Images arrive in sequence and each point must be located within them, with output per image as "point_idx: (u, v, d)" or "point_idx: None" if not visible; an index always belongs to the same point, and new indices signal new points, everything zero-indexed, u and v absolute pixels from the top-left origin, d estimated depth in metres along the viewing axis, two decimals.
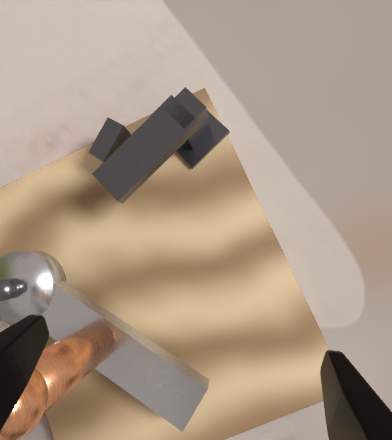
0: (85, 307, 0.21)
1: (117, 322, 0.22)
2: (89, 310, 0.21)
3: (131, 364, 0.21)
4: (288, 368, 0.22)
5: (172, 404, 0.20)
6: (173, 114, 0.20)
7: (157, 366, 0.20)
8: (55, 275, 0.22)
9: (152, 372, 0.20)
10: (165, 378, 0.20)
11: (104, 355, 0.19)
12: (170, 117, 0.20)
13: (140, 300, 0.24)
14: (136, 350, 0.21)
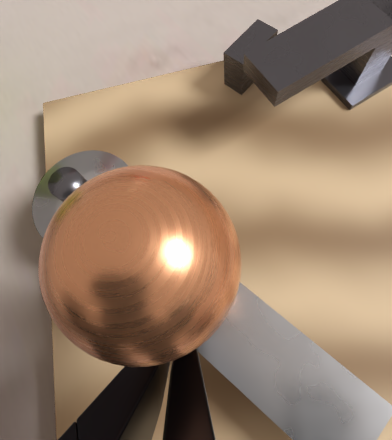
0: None
1: None
2: None
3: (253, 342, 0.12)
4: None
5: (326, 427, 0.11)
6: (375, 1, 0.14)
7: (300, 352, 0.12)
8: None
9: (290, 361, 0.12)
10: (314, 376, 0.11)
11: None
12: (371, 3, 0.14)
13: (248, 269, 0.16)
14: (264, 319, 0.12)
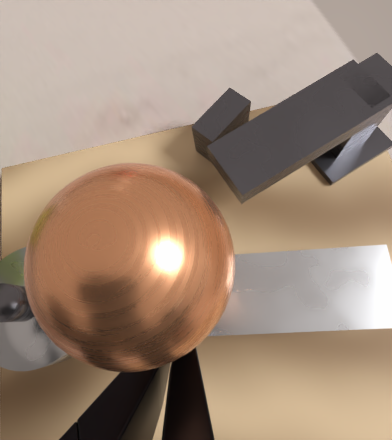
0: None
1: None
2: None
3: (264, 289, 0.12)
4: None
5: (360, 299, 0.12)
6: (353, 85, 0.13)
7: (300, 265, 0.13)
8: None
9: (299, 278, 0.12)
10: (322, 272, 0.12)
11: None
12: (349, 88, 0.13)
13: (215, 373, 0.14)
14: (256, 266, 0.13)
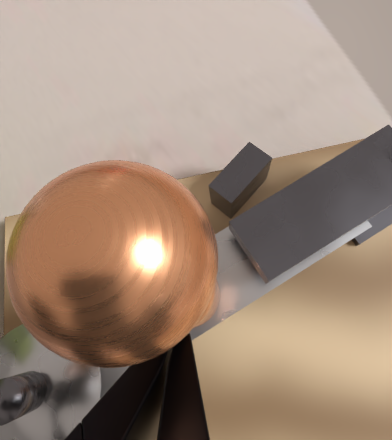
0: None
1: None
2: None
3: (246, 256, 0.13)
4: None
5: None
6: (390, 155, 0.12)
7: None
8: None
9: None
10: None
11: None
12: (384, 158, 0.12)
13: None
14: (229, 240, 0.13)
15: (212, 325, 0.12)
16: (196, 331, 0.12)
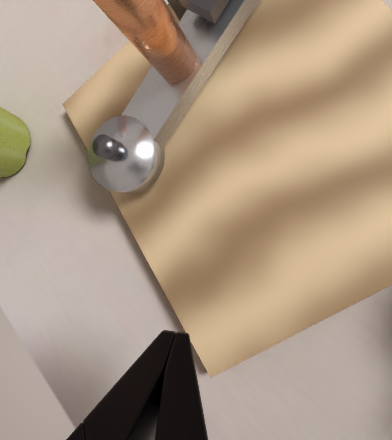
0: (145, 79, 0.21)
1: None
2: (148, 74, 0.20)
3: (202, 22, 0.19)
4: None
5: None
6: None
7: None
8: None
9: None
10: None
11: None
12: None
13: (247, 153, 0.21)
14: (189, 19, 0.20)
15: (197, 71, 0.19)
16: (189, 79, 0.19)
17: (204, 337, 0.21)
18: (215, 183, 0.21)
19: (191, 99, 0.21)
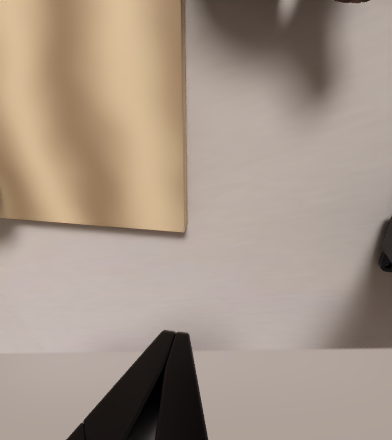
0: None
1: None
2: None
3: None
4: None
5: None
6: None
7: None
8: None
9: None
10: None
11: None
12: None
13: None
14: None
15: None
16: None
17: (149, 216, 0.21)
18: (12, 117, 0.19)
19: None
